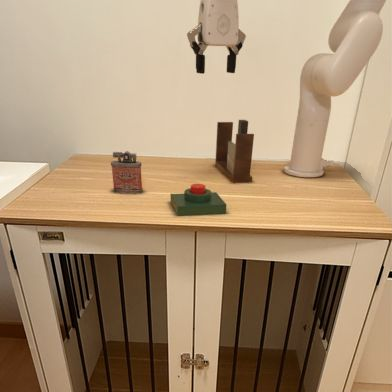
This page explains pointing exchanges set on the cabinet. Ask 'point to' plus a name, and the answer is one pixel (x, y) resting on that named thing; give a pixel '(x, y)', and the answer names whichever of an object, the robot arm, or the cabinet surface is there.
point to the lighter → (126, 173)
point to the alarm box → (197, 203)
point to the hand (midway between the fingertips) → (215, 73)
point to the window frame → (234, 153)
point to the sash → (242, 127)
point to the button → (198, 188)
